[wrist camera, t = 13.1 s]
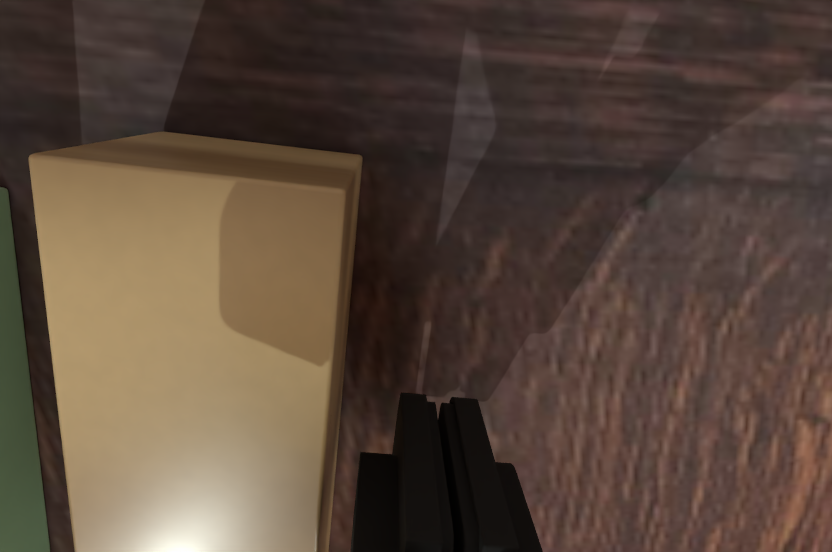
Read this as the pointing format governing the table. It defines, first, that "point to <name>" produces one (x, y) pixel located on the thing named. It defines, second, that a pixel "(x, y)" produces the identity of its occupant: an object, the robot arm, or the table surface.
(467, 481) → the robot arm
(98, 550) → the brass block
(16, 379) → the green bar
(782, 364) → the table surface
